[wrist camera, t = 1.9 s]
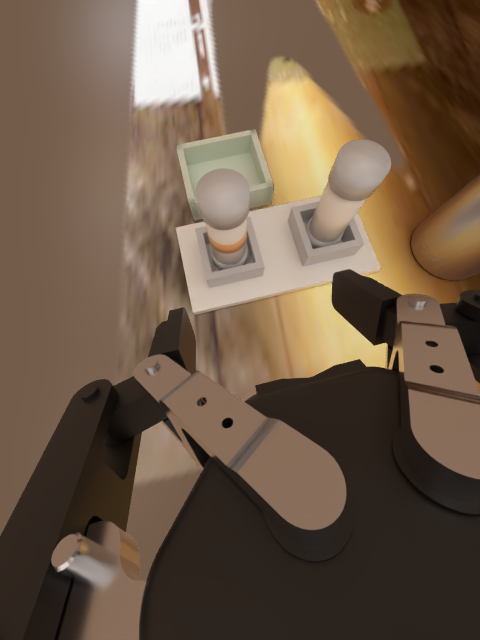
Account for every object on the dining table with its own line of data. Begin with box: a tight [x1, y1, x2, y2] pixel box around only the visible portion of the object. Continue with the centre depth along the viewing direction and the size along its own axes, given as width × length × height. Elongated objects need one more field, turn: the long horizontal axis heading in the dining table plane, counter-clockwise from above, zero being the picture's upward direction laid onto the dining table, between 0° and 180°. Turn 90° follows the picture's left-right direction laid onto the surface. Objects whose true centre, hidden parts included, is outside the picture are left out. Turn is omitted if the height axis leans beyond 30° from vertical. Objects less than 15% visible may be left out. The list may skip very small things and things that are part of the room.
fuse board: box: [176, 196, 381, 315], centre depth 29 cm, size 24×12×4 cm, turn 104°
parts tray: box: [176, 129, 274, 221], centre depth 31 cm, size 11×10×3 cm
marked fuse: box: [195, 168, 250, 271], centre depth 24 cm, size 4×4×11 cm
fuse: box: [306, 139, 391, 249], centre depth 24 cm, size 4×4×11 cm
